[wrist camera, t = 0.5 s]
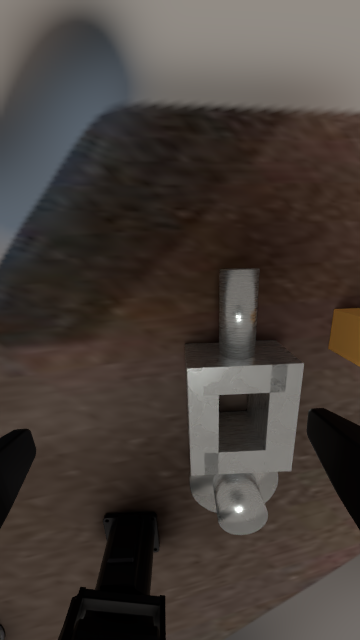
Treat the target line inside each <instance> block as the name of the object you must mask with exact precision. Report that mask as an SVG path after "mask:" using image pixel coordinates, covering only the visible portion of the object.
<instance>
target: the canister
mask: <svg viewBox="0 0 360 640" xmlns="http://www.w3.org/2000/svg"><path fill="white" fill-rule="evenodd" d="M4 638H5V634H4V631H3V628H2V627H1V626H0V640H4Z"/></svg>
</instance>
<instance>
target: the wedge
mask: <svg viewBox="0 0 360 640" xmlns="http://www.w3.org/2000/svg"><path fill="white" fill-rule="evenodd" d="M328 349H330V350H332V351H333V352H335V353H337V354H339V355H340V356H342V357H344V358H346V359H347V360H349V361H351V362H352V363H354V364H356V365H358V366H359V367H360V308H348V309H334V314H333V321H332V327H331V334H330V341H329V348H328Z"/></svg>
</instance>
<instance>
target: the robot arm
mask: <svg viewBox="0 0 360 640" xmlns="http://www.w3.org/2000/svg"><path fill="white" fill-rule="evenodd" d="M307 435H308V438H309V440H310V442H311V444H312V446H313V448H314V450H315V452H316V454H317V456H318V458H319V460H320V462H321V464H322V466H323V468H324V469H325V471H326V473H327V475H328V477H329V479H330V481H331V483H332V485H333V487H334V489H335V491H336V492H337V494H338V496H339V497H340V499H341V501H342V502H343V504H344V506H345V507H346V509H347V510H348V512H349V514H350V515H351V517H352V518H353V520H354V522H355V523H356V525H357V527H358V528H359V530H360V426H359V425H357V424H355V423H353V422H351V421H349V420H347V419H345V418H343V417H341V416H339V415H337V414H335V413H333V412H331V411H329V410H327V409H324V408H314V409H310V410H309V412H308V421H307ZM35 455H36V447H35V443H34V440H33V437H32V434H31V431H30V430H29V429H16V430H13V431H11V432H10V433H8V434H6V435H4V436H3V437H1V438H0V528H1V526H2V525H3V523H4V521H5V519H6V517H7V515H8V513H9V511H10V509H11V507H12V505H13V503H14V501H15V499H16V497H17V495H18V492H19V490H20V488H21V486H22V484H23V482H24V480H25V477H26V475H27V473H28V471H29V469H30V467H31V465H32V462H33V460H34V458H35ZM103 523H104V528H105V534H106V539H107V544H106V548H105V552H104V556H103V560H102V564H101V568H100V572H99V576H98V580H97V584H96V588H95V590H93V589H86V587H80V590H79V593H78V595H77V596H75V597H73V598H72V600H71V603H70V606H69V609H68V613H67V616H66V619H65V622H64V625H63V628H62V630H61V633H60V635H59V638H58V640H166V631H165V596H164V595H160V596H151V595H150V587H151V575H152V563H153V552H158V551H159V546H160V545H159V535H158V525H157V515H156V513H154V512H148V513H126V514H107V515H105V516H104V519H103Z"/></svg>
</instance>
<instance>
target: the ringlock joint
mask: <svg viewBox="0 0 360 640" xmlns="http://www.w3.org/2000/svg"><path fill="white" fill-rule="evenodd" d="M259 271H260V268H232V269H220V270H219V342H214V343H192V344H185V363H186V388H187V413H188V435H189V451H190V466H191V469H190V489H191V492H192V495H193V497H194V498H195V500H196V501H197V502H198V503H199V504H200V505H201V506H203V507H204V508H206V509H208V510H210V511H212V512H215V513H217V516H218V522H219V525H220V526H221V528H222V529H223V530H225V531H226V532H228V533H231V534H235V535H246V534H251V533H254V532H256V531H258V530H259V529H261V528H262V527H263V526H264V525H265V523H266V521H267V519H268V512H267V509H266V506H265V502H267V501H268V500H269V499H270V498H271V496H272V495H273V494H274V492H275V490H276V487H277V484H278V472H280V471H291V468H292V460H293V451H294V443H295V435H296V426H297V418H298V410H299V401H300V393H301V385H302V376H303V368H304V363H303V362H302V361H301V360H299V359H298V358H297V357H296V356H294V355H293V354H292V353H291V352H289V351H288V350H287V349H286V348H285V347H283V346H282V345H281V344H280V343H278V342H277V341H276V340H259V341H256V327H257V308H258V289H259ZM229 394H248V403H247V411H232V412H219V395H229Z"/></svg>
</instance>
